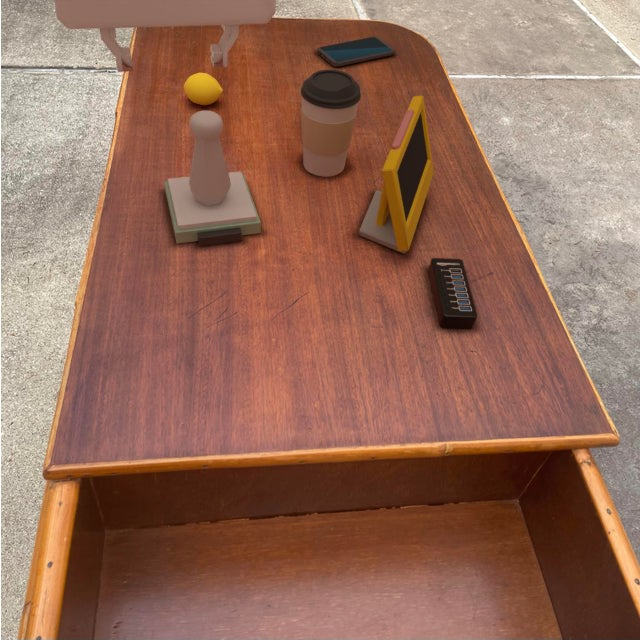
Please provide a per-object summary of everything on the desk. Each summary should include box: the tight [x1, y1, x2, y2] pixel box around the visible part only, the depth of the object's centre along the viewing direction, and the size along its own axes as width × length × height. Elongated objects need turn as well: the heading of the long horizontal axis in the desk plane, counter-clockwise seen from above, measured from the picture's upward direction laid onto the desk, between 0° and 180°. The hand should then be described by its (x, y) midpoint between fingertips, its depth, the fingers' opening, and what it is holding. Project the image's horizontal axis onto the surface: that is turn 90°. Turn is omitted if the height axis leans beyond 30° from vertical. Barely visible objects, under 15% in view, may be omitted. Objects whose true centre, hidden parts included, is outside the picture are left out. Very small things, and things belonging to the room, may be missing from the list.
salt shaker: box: [189, 110, 231, 206], centre depth 88 cm, size 6×6×13 cm
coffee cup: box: [300, 68, 362, 178], centre depth 100 cm, size 9×9×15 cm
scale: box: [163, 171, 262, 247], centre depth 93 cm, size 12×13×3 cm
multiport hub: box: [427, 257, 478, 330], centre depth 86 cm, size 4×11×2 cm, turn 2°
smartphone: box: [317, 36, 395, 68], centre depth 133 cm, size 8×15×1 cm, turn 121°
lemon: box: [183, 72, 224, 106], centre depth 113 cm, size 7×5×5 cm
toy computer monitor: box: [358, 94, 435, 255], centre depth 91 cm, size 20×8×16 cm, turn 163°
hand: (172, 67), depth 65 cm, fingers open, 8 cm apart
